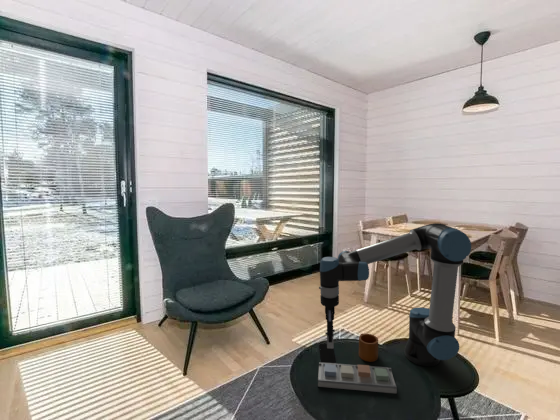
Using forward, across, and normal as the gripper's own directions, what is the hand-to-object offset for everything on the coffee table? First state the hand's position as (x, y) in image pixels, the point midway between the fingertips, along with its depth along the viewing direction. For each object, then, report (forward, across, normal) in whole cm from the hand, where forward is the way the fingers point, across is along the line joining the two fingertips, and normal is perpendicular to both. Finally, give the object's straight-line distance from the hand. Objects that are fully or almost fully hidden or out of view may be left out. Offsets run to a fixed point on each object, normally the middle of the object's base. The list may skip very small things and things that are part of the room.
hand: (330, 347), depth 129 cm
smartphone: (+15, -17, -2) cm, 23 cm away
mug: (+15, -19, +17) cm, 29 cm away
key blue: (+12, 0, 0) cm, 12 cm away
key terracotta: (+11, 0, +14) cm, 17 cm away
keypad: (+14, 0, +10) cm, 18 cm away
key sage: (+12, 0, +21) cm, 24 cm away
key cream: (+12, 0, +7) cm, 13 cm away
